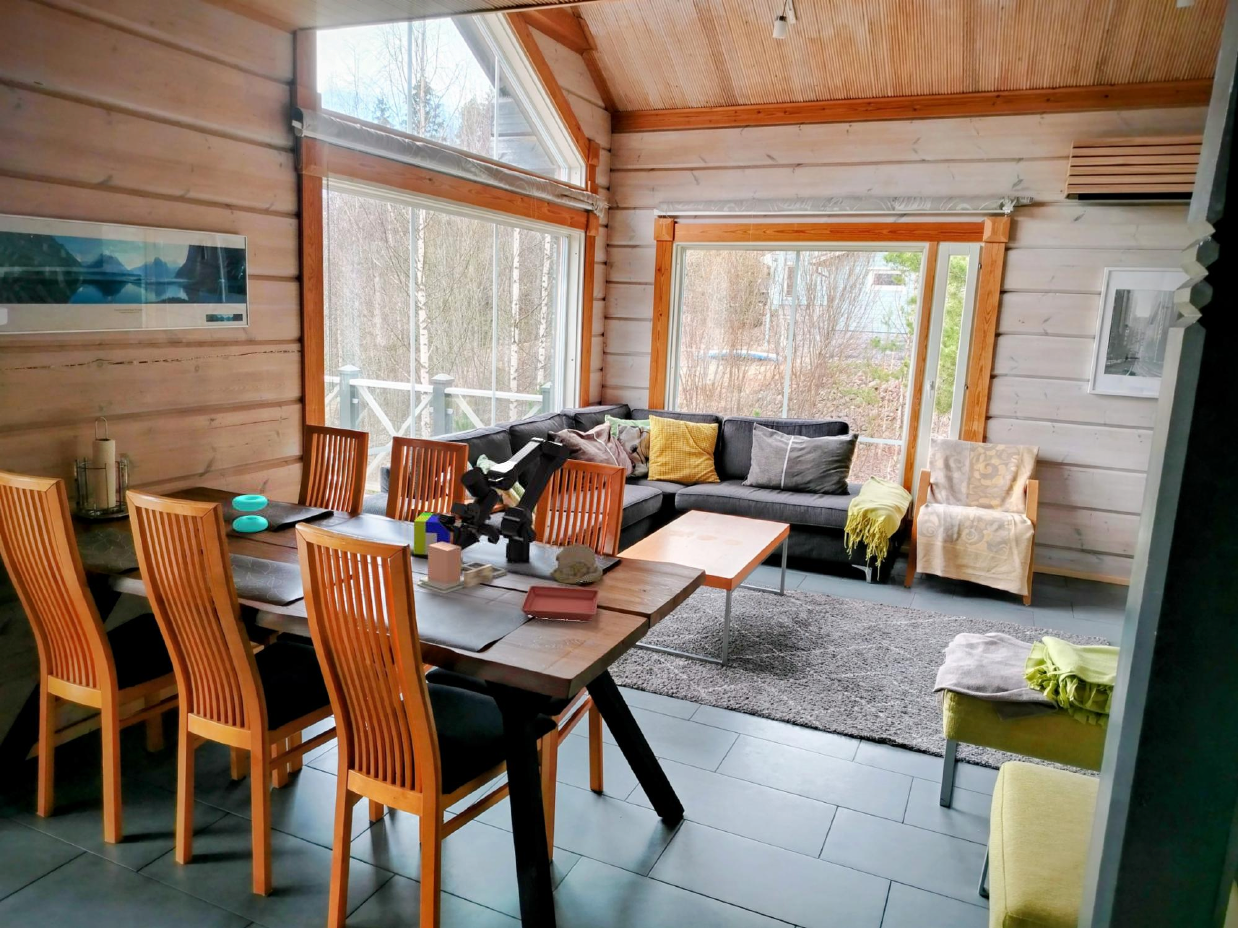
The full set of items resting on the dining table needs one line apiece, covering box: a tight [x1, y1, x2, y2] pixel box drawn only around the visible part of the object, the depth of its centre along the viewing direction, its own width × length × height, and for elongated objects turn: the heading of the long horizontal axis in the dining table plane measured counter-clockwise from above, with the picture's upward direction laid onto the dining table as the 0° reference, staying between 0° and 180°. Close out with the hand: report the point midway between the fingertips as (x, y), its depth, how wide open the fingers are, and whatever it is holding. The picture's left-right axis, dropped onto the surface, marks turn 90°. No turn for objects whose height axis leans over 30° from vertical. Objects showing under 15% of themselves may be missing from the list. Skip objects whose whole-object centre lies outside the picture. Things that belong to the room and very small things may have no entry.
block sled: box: [418, 542, 464, 590], centre depth 230 cm, size 9×9×10 cm
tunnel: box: [461, 555, 494, 589], centre depth 236 cm, size 10×12×4 cm
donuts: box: [231, 494, 269, 533], centre depth 270 cm, size 10×10×10 cm
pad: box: [416, 582, 465, 594], centre depth 230 cm, size 7×10×1 cm
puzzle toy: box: [413, 512, 457, 556], centre depth 260 cm, size 10×10×10 cm
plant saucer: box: [520, 585, 600, 622], centre depth 218 cm, size 18×18×3 cm
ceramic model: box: [549, 541, 604, 584], centre depth 243 cm, size 14×11×10 cm
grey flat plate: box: [461, 560, 508, 580], centre depth 243 cm, size 6×12×1 cm, turn 56°
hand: (452, 554), depth 232 cm, fingers closed, pressing on block sled
